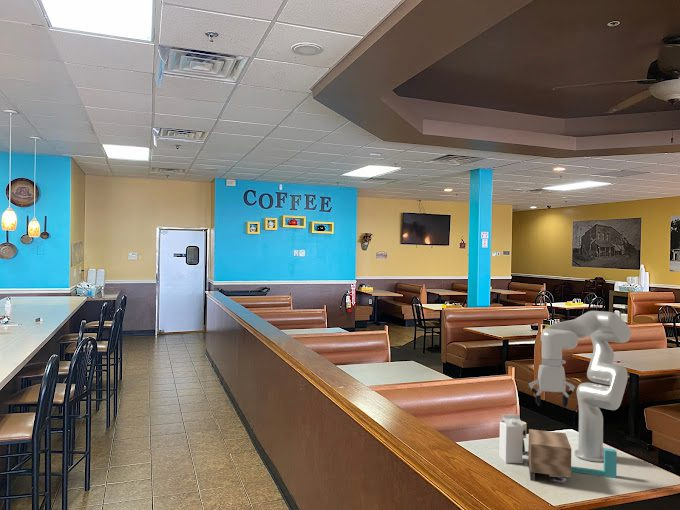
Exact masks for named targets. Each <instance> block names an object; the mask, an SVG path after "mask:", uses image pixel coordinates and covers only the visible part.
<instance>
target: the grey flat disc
mask: <svg viewBox="0 0 680 510" xmlns="http://www.w3.org/2000/svg"><path fill="white" fill-rule="evenodd" d="M548 477H549V478H548V479H549V480H550V481H552V482H554V483H560V484H563V483H564V484H565V483H566V482H567V477H564V476H557V475H549V474H548Z"/></svg>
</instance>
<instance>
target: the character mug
mask: <svg viewBox="0 0 680 510" xmlns="http://www.w3.org/2000/svg"><path fill="white" fill-rule="evenodd" d="M521 423H522V425H523V451H522V454H524V453H526V448H525V447H526V445H525V440H524V439H526V438H527V422H525V421H523V420H521Z"/></svg>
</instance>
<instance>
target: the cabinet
mask: <svg viewBox="0 0 680 510" xmlns="http://www.w3.org/2000/svg"><path fill="white" fill-rule="evenodd" d="M571 466H572V445H571V444H570V441H569V438H568V436H567V434H566V433H565V432H559V431H558V432H557V431H548V430H541V429H540V430H539V429H532V428H529V429H528V473H529V479H530V481H533V482H535V480H536V479H535V478H536V476H535V475H536V474H535V473H537V474H544V475H548V476H549V475H557V476H564V477H566V478H572V471H571Z"/></svg>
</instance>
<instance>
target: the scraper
mask: <svg viewBox="0 0 680 510" xmlns="http://www.w3.org/2000/svg"><path fill="white" fill-rule="evenodd" d="M603 448H604V461H603V470H602V469H595V468H594V469H593V468H588V467H578V466H572V465H571V473H572V472H574V473H581V474H589V475H596V476H602V477H603V476H604V477H607V478H612V479H617V468H618V467H617V455H618V454H617V453H618V452H617V450H616V449H614V448H607V447H603Z"/></svg>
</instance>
